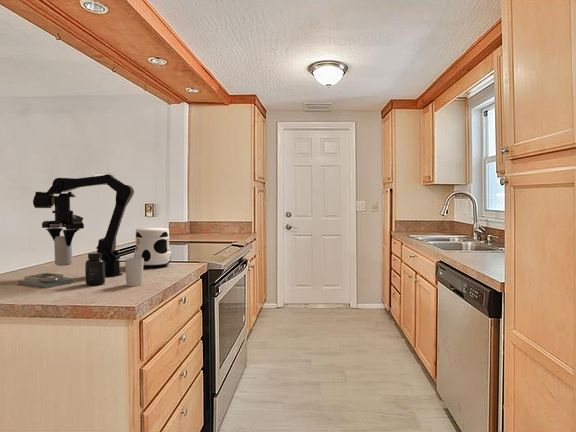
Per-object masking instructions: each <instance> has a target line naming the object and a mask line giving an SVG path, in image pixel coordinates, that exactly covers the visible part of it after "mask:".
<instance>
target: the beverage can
mask: <svg viewBox="0 0 576 432" xmlns="http://www.w3.org/2000/svg"><path fill="white" fill-rule="evenodd" d="M53 242H54V247H53V248H54V264H55V265H56V266H57V267H59V266H60V267H63V266H64V267H65V266H70V265H71V264H72V263H73V251H72V250H73V247H72V246H73V241H72V242H71V245H70V246H67V244H66V241H65V237H64V235H60V236H57V237H55V240H53Z"/></svg>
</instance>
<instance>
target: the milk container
mask: <svg viewBox="0 0 576 432" xmlns="http://www.w3.org/2000/svg"><path fill="white" fill-rule="evenodd" d="M170 248H171V247H170V228H166V227H145V228H136V229H135V250H134V254H133V258H134V257H140V258H144V262H143V268H157V267H164V266H167V265H169V264H170V263H171V261H172V253H171V249H170Z"/></svg>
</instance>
